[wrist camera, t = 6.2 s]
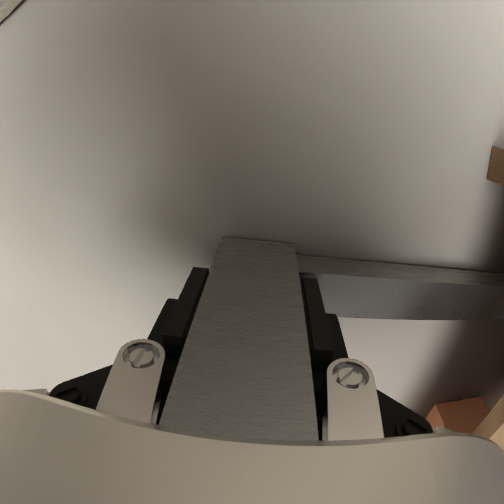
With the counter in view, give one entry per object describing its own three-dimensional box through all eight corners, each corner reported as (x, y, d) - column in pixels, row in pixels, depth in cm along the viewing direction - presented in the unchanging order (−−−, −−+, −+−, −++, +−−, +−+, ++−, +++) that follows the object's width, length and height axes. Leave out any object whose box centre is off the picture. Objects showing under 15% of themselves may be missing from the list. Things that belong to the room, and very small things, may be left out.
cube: (435, 403, 18) (456, 456, 13) (481, 395, 18) (504, 441, 13) (408, 440, 20) (421, 488, 15) (453, 432, 20) (469, 475, 15)
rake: (222, 237, 13) (146, 465, 4) (573, 273, 13) (651, 357, 4) (219, 387, 17) (191, 546, 8) (520, 375, 17) (567, 463, 8)
